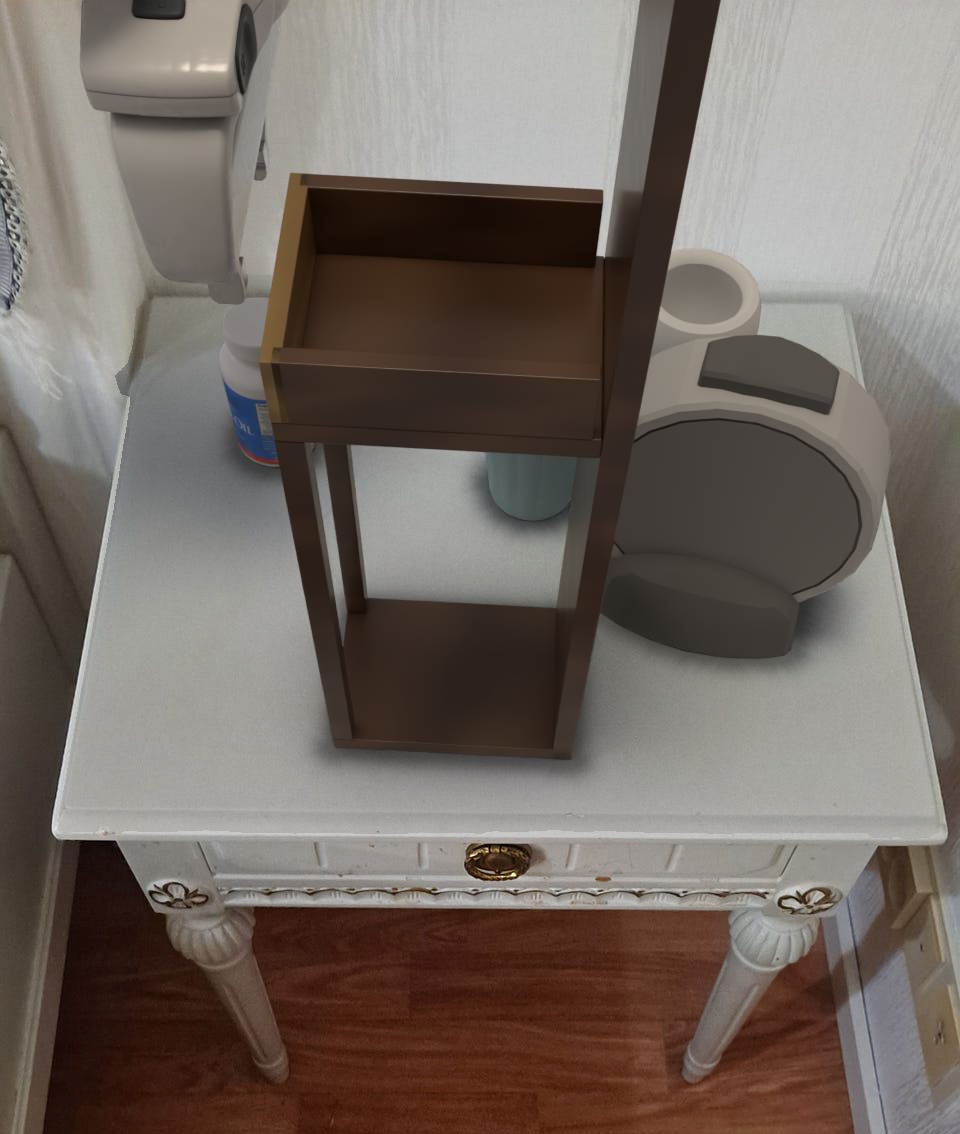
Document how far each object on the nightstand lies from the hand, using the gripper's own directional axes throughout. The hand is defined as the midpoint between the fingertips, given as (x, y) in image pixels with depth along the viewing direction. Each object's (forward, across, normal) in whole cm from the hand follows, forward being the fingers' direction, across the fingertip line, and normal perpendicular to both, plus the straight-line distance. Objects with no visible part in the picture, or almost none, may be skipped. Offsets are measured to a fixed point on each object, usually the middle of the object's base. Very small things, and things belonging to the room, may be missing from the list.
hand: (242, 231), depth 64 cm
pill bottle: (+16, 0, 0) cm, 16 cm away
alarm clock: (+16, +10, +28) cm, 33 cm away
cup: (+16, +3, +17) cm, 23 cm away
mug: (+16, -5, +27) cm, 31 cm away
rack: (+16, +18, +13) cm, 27 cm away
